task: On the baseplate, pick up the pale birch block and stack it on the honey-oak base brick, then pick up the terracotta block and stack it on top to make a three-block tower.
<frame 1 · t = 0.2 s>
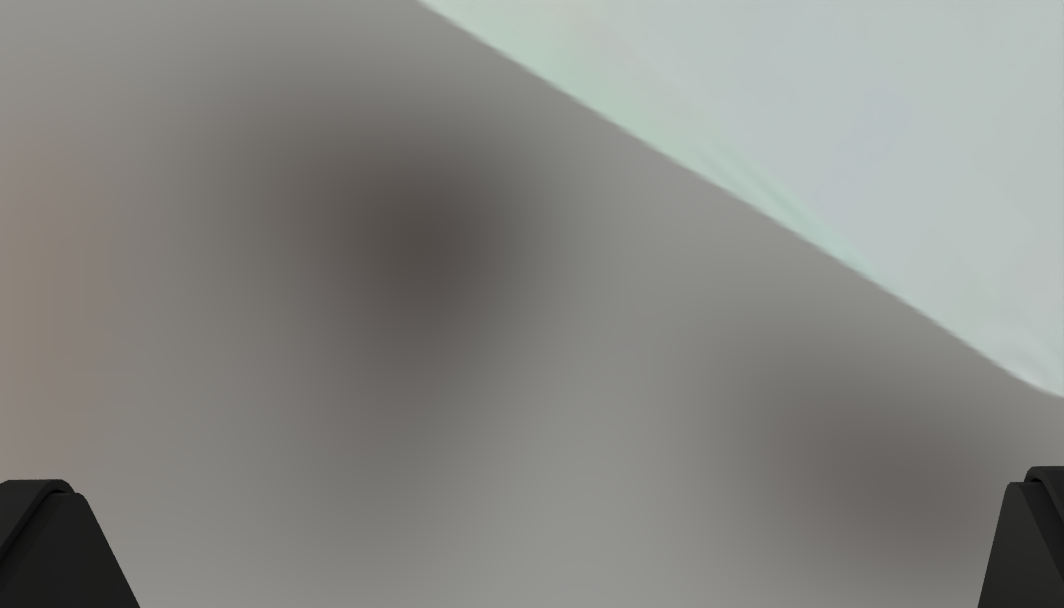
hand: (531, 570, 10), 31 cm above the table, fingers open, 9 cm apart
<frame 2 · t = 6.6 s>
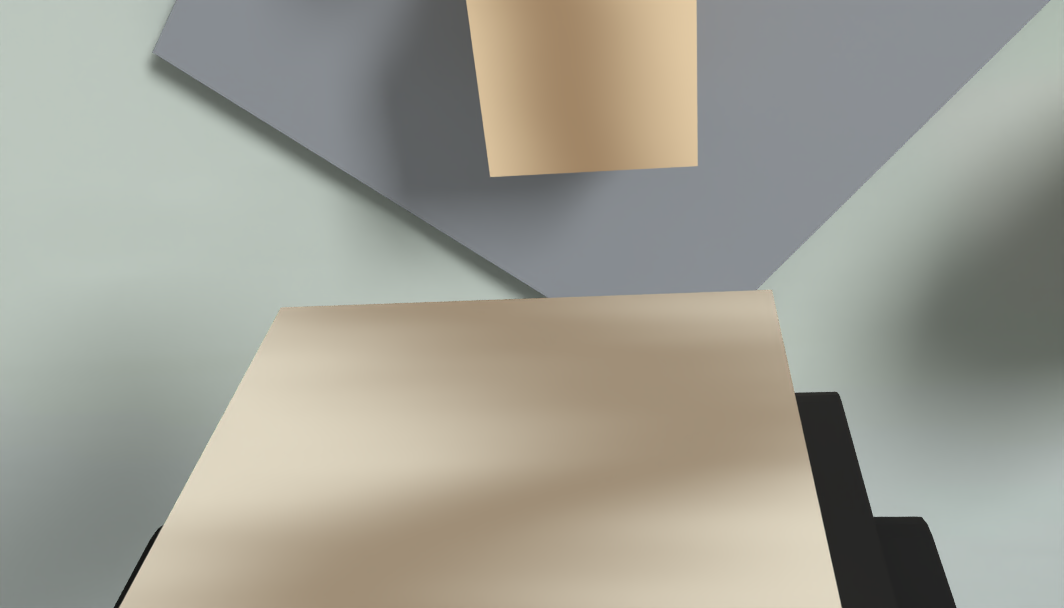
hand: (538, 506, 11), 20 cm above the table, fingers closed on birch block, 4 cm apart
birch block: (541, 480, 11), point 19 cm above the table, touching gripper
oak base brick: (592, 5, 26), point 1 cm above the table, touching baseplate
when the fingers open (8 cm above the table, at t = 9.1 s): birch block drops 1 cm, resting on oak base brick.
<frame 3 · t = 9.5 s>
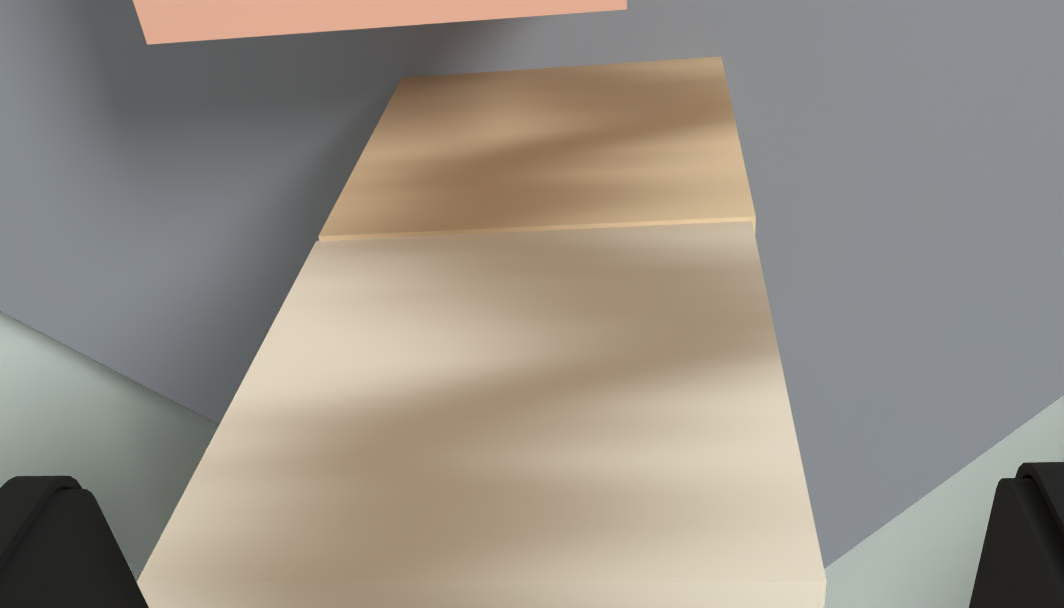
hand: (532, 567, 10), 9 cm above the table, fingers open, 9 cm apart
birch block: (548, 400, 12), point 6 cm above the table, touching oak base brick
oak base brick: (570, 208, 16), point 1 cm above the table, touching baseplate, birch block
baseplate: (573, 181, 17), on the table
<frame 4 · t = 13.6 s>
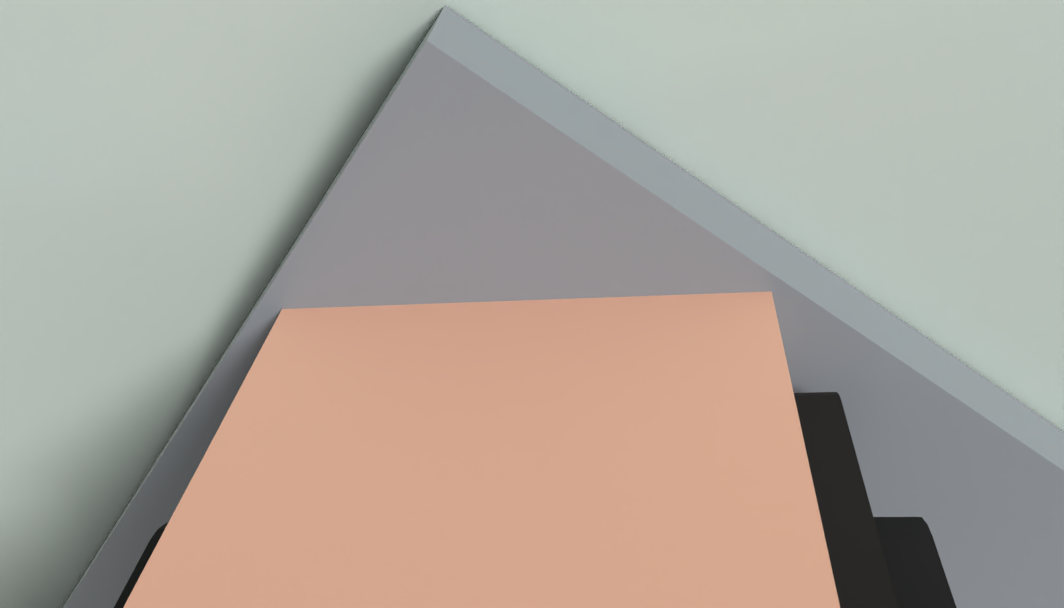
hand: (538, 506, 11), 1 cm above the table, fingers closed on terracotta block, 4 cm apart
terracotta block: (542, 480, 11), point 1 cm above the table, touching baseplate, gripper
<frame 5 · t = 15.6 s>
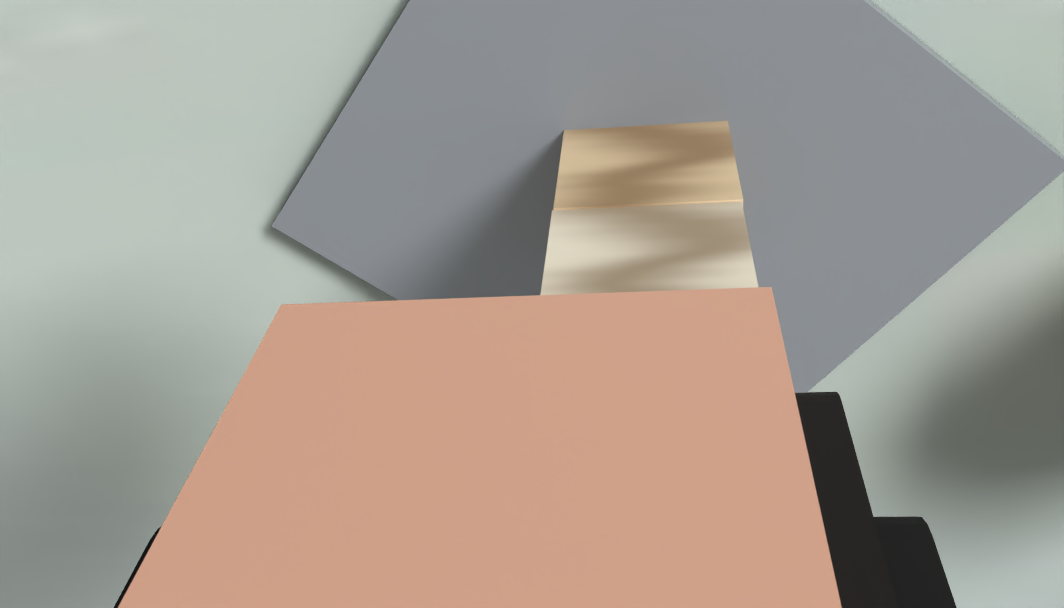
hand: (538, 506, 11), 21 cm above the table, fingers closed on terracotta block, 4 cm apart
birch block: (648, 284, 27), point 6 cm above the table, touching oak base brick
oak base brick: (647, 197, 31), point 1 cm above the table, touching baseplate, birch block
baseplate: (647, 183, 32), on the table
terracotta block: (541, 477, 11), point 21 cm above the table, touching gripper
when the fingers open (13 cm above the table, at t = 18.0 s): terracotta block drops 1 cm, resting on birch block.
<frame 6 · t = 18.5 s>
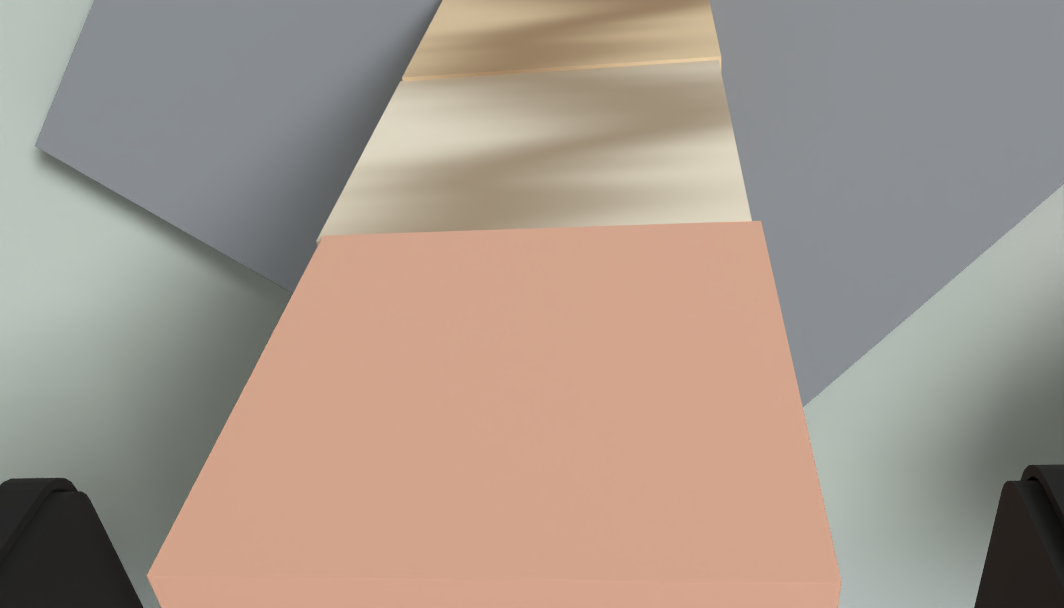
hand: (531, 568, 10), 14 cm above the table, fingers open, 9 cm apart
birch block: (569, 211, 17), point 6 cm above the table, touching oak base brick, terracotta block
oak base brick: (582, 95, 21), point 1 cm above the table, touching baseplate, birch block
baseplate: (584, 77, 21), on the table
terracotta block: (552, 398, 12), point 11 cm above the table, touching birch block
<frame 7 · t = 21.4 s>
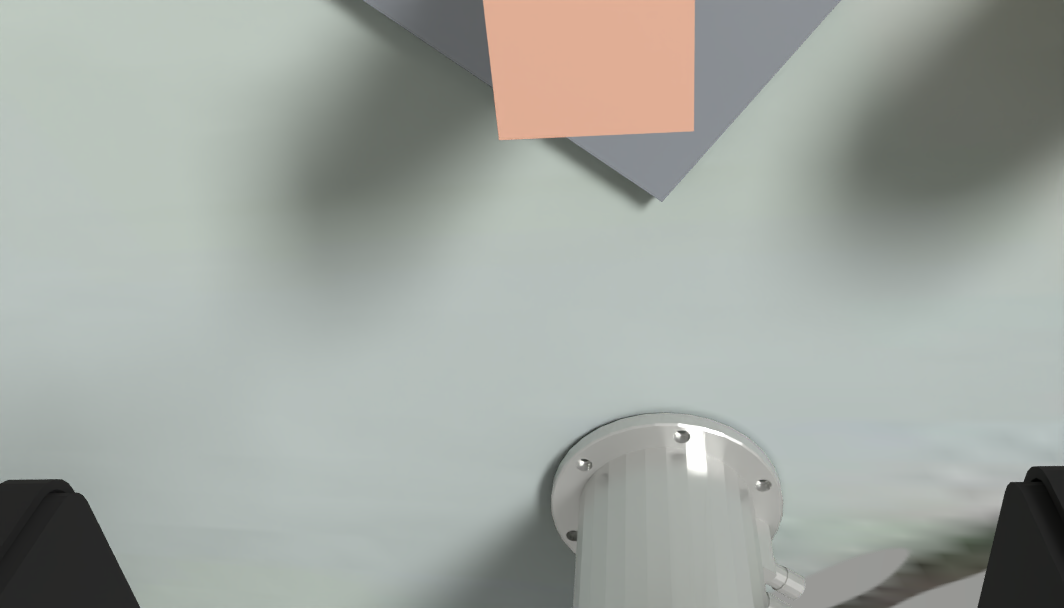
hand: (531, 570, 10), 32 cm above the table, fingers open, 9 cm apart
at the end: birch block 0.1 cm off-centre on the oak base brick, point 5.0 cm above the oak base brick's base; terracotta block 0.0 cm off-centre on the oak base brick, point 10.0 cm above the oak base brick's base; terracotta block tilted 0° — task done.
